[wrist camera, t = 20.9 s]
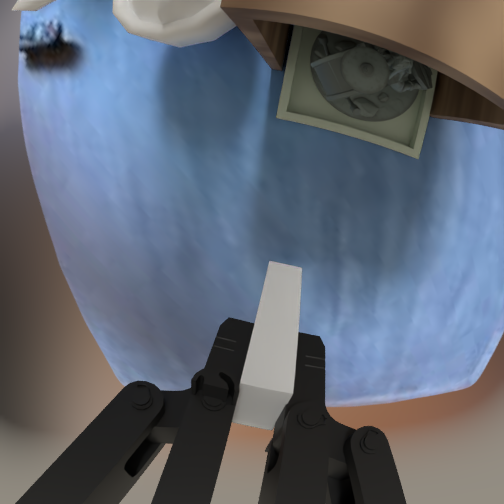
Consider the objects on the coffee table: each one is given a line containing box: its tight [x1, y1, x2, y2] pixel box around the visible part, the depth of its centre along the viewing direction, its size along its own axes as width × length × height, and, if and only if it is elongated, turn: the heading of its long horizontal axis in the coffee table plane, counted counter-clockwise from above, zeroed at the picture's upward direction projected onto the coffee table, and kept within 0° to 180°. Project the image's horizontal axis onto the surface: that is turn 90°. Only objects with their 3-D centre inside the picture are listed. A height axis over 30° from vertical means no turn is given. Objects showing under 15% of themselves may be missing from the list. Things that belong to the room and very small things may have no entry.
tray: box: [276, 25, 438, 159], centre depth 21 cm, size 14×14×2 cm
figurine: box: [310, 30, 433, 122], centre depth 16 cm, size 11×11×12 cm
